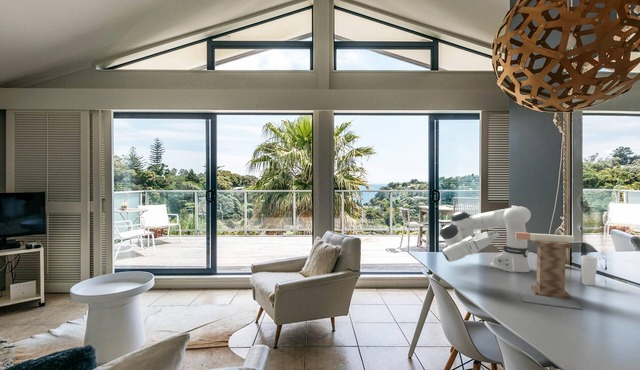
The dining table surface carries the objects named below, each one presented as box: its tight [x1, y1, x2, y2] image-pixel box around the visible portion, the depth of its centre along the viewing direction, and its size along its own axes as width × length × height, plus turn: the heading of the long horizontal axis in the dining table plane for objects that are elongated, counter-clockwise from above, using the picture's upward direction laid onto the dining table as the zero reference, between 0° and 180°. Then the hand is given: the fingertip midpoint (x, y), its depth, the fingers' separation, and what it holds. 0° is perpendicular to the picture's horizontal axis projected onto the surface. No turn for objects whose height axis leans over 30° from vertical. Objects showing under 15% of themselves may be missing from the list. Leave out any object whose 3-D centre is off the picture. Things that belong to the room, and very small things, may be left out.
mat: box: [519, 293, 583, 311], centre depth 153 cm, size 22×11×1 cm, turn 66°
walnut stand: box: [530, 240, 573, 300], centre depth 164 cm, size 14×12×26 cm
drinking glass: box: [580, 254, 598, 287], centre depth 178 cm, size 7×7×15 cm
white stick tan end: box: [515, 232, 575, 244], centre depth 164 cm, size 24×3×3 cm, turn 66°
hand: (498, 232), depth 172 cm, fingers open, 8 cm apart
